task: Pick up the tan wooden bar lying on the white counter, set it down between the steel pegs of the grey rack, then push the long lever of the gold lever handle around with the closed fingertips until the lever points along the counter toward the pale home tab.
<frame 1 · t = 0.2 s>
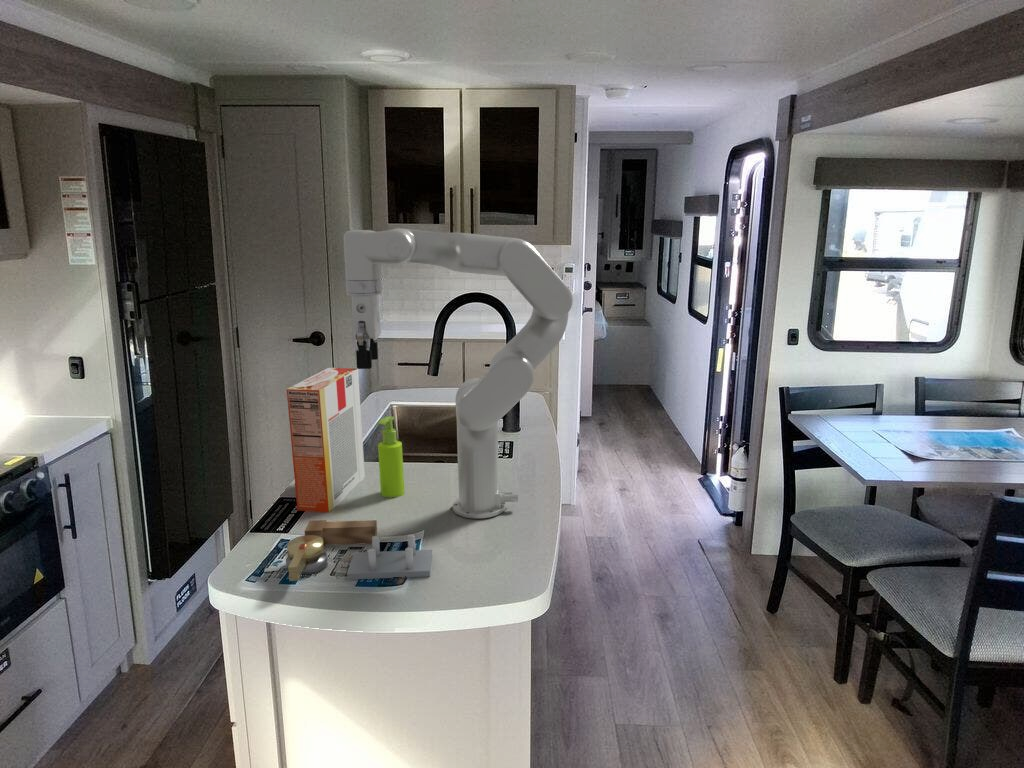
hand: (367, 363, 162), 36 cm above the countertop, tool pointing down, fingers open, 9 cm apart
orange cereal box: (333, 493, 183), on the countertop
soap dispenser: (391, 494, 182), on the countertop
rack: (391, 566, 145), on the countertop
tan wooden bar: (351, 541, 156), on the countertop
gold lever handle: (301, 555, 141), point 4 cm above the countertop, hinge at 0.0°
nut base: (307, 566, 145), on the countertop
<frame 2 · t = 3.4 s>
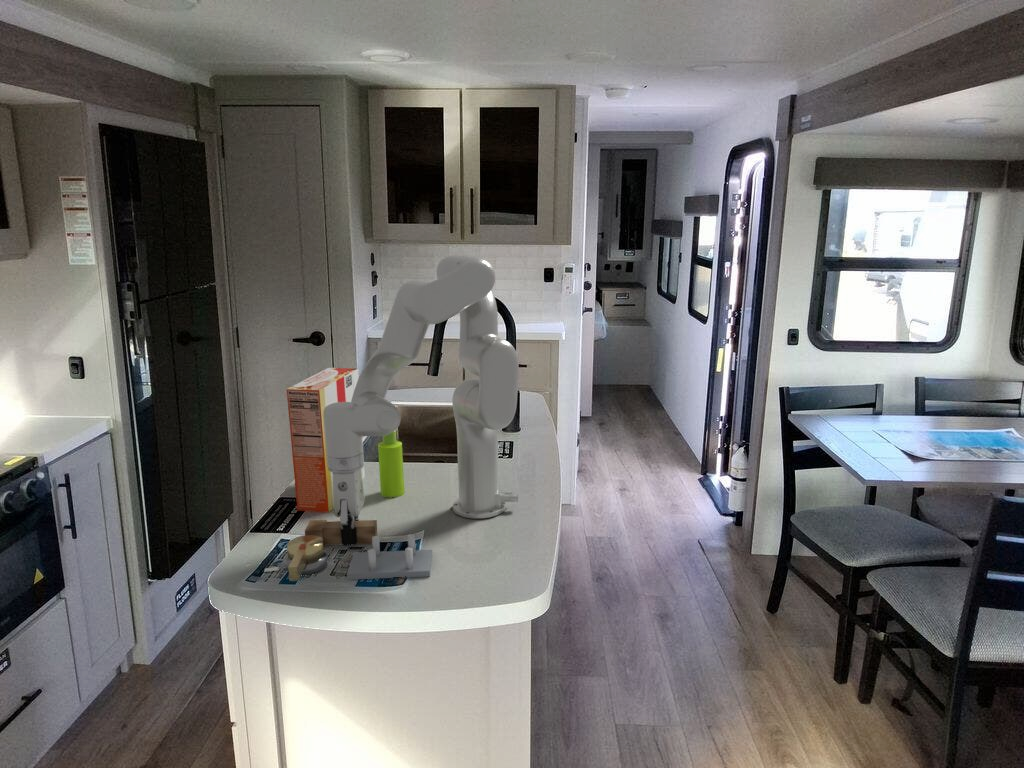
hand: (351, 540, 156), 0 cm above the countertop, tool pointing down, fingers closed on tan wooden bar, 3 cm apart
tan wooden bar: (351, 540, 156), on the countertop, touching gripper
everything else where it was.
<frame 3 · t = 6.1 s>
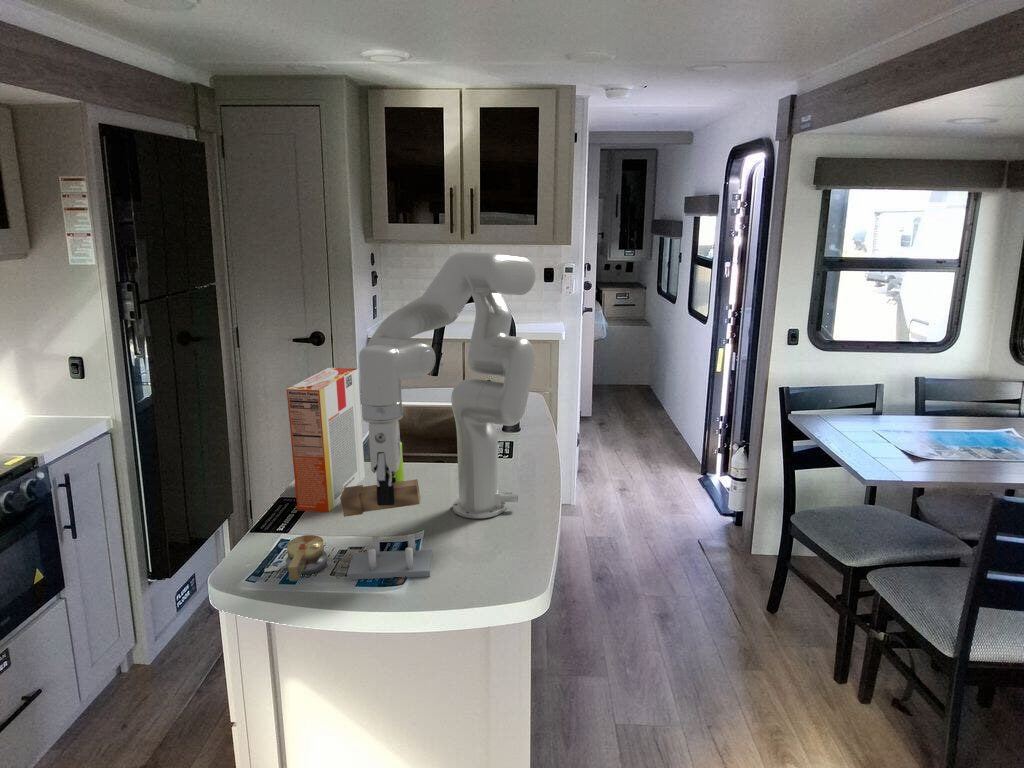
hand: (387, 499, 141), 14 cm above the countertop, tool pointing down, fingers closed on tan wooden bar, 3 cm apart
tan wooden bar: (392, 504, 142), point 13 cm above the countertop, tilted 6°, touching gripper
everything else where it was.
when the fingers open (3 cm above the countertop, at t = 8.4 s): tan wooden bar stays where it is, resting on rack.
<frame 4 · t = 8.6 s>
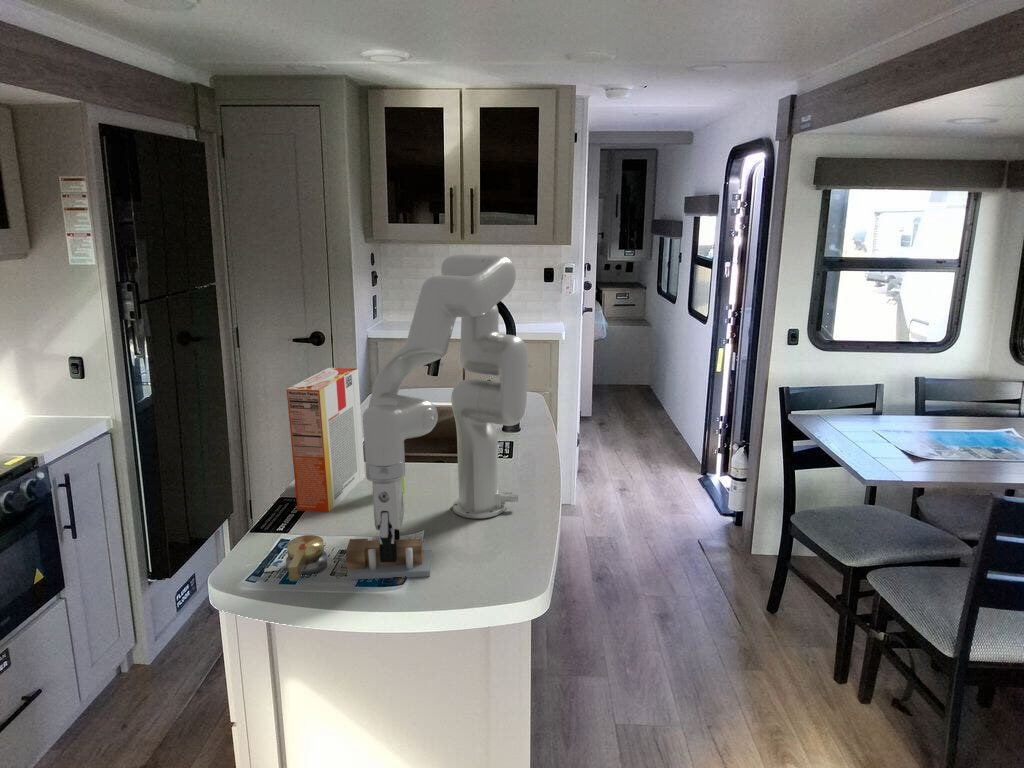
hand: (390, 553, 144), 3 cm above the countertop, tool pointing down, fingers open, 5 cm apart
tan wooden bar: (394, 561, 144), point 1 cm above the countertop, touching rack
everything else where it was.
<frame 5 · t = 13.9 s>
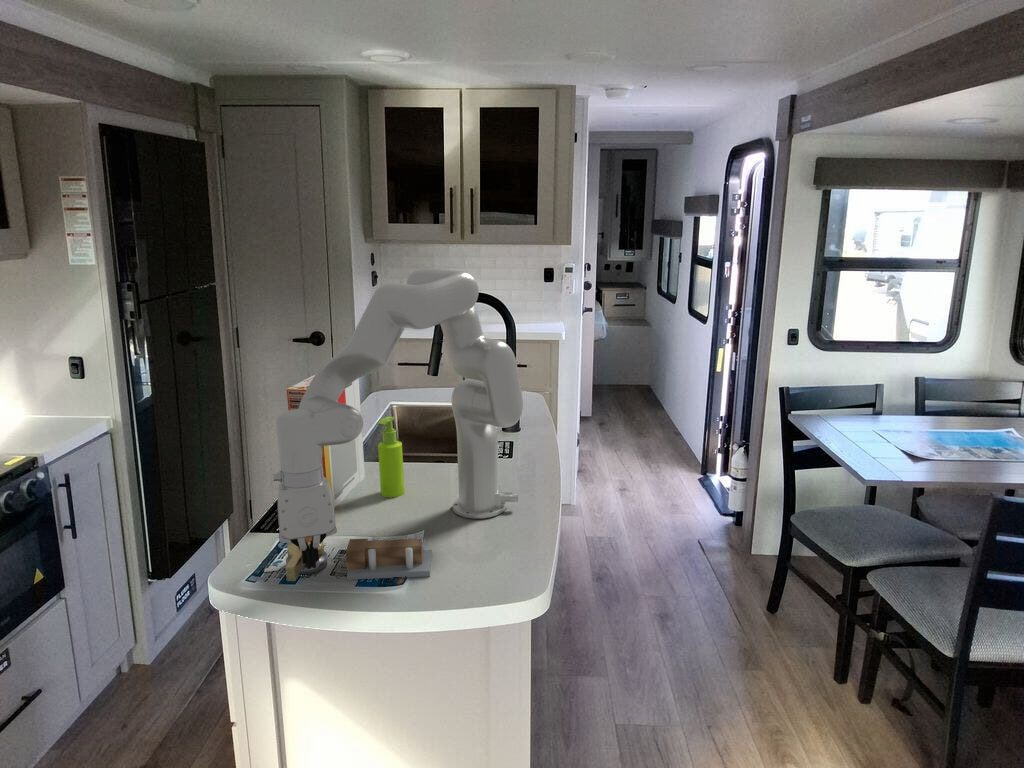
hand: (311, 565, 139), 4 cm above the countertop, tool pointing down, fingers closed
gold lever handle: (300, 555, 141), point 4 cm above the countertop, hinge at 2.7°, touching gripper
everything else where it was.
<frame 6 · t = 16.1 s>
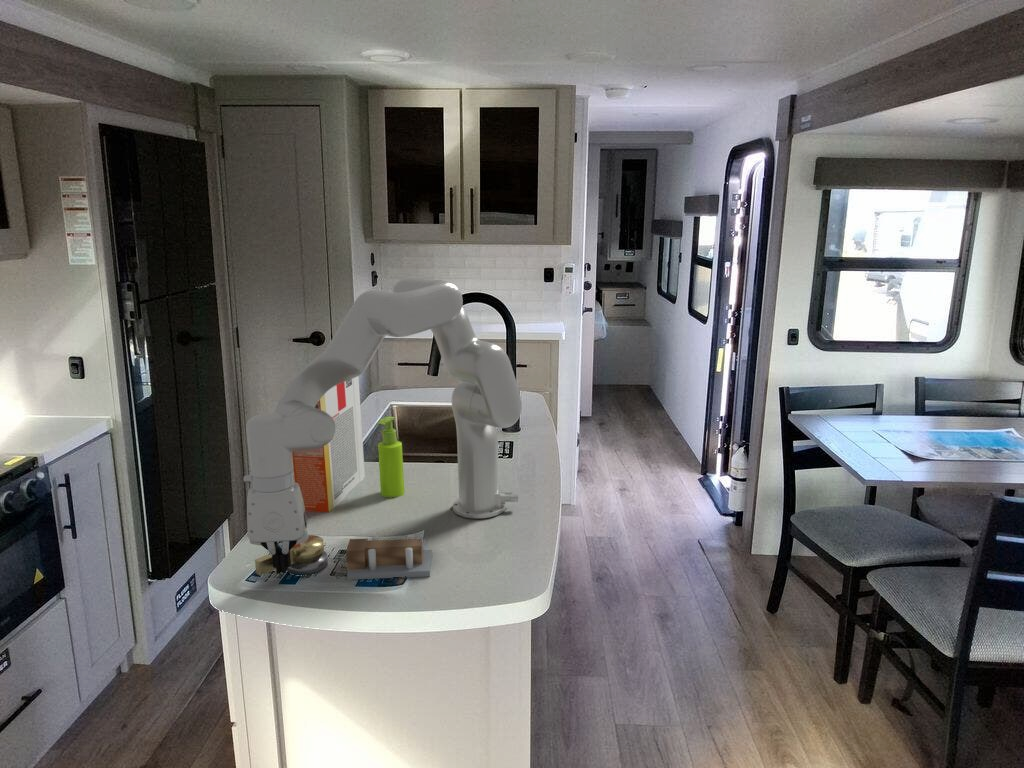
hand: (282, 570, 138), 3 cm above the countertop, tool pointing down, fingers closed
gold lever handle: (290, 553, 142), point 4 cm above the countertop, hinge at 44.6°, touching gripper
everything else where it was.
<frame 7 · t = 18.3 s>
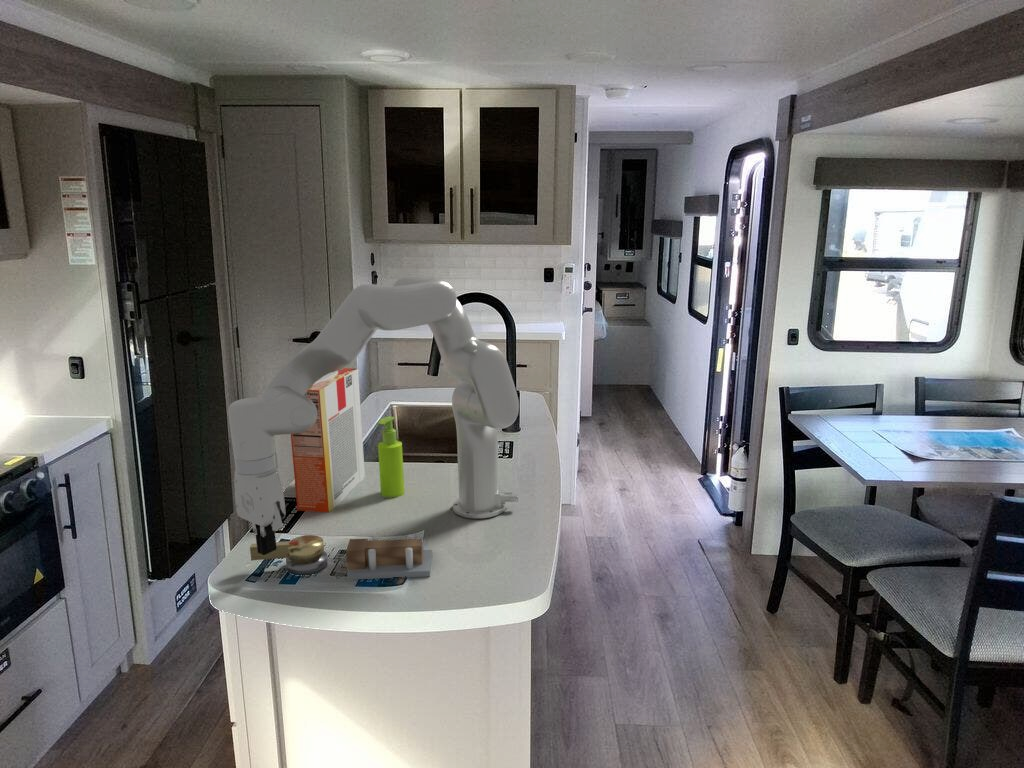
hand: (267, 551, 141), 5 cm above the countertop, tool pointing down, fingers closed
gold lever handle: (287, 548, 144), point 4 cm above the countertop, hinge at 85.7°
everything else where it was.
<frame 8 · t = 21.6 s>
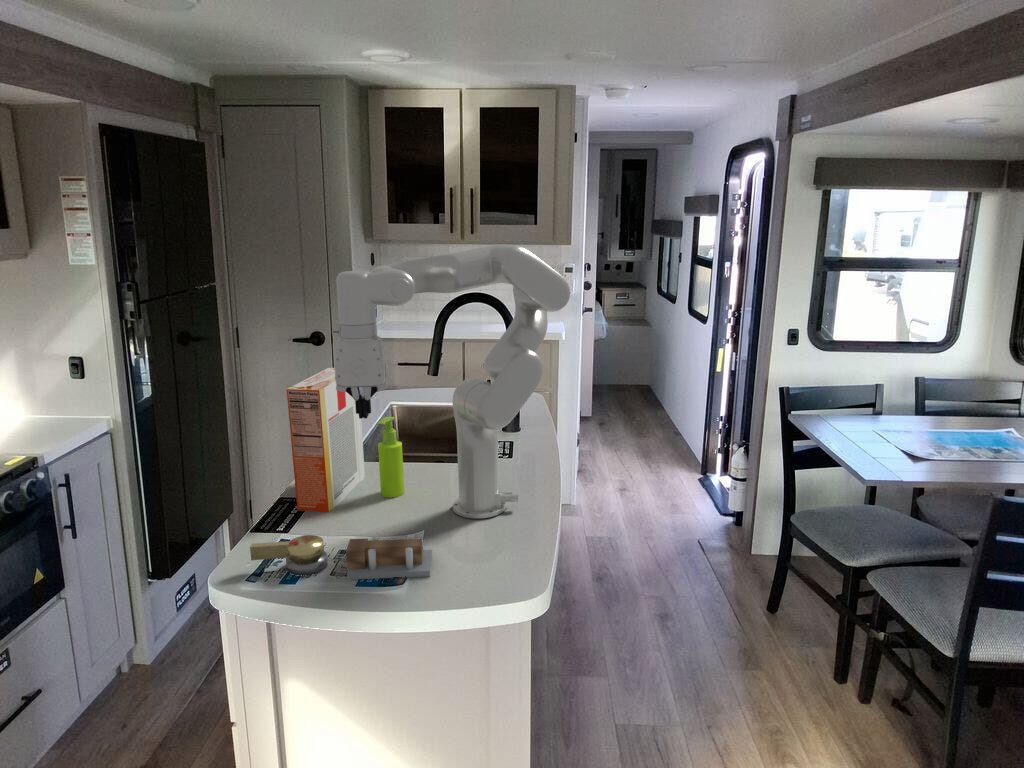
hand: (363, 416, 153), 27 cm above the countertop, tool pointing down, fingers closed
nothing on the countertop moved.
at the end: tan wooden bar 0.8 cm off-centre on the rack, point 1.2 cm above the rack's base; tan wooden bar tilted 0°; gold lever handle at +86° (first picture: +0°) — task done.
